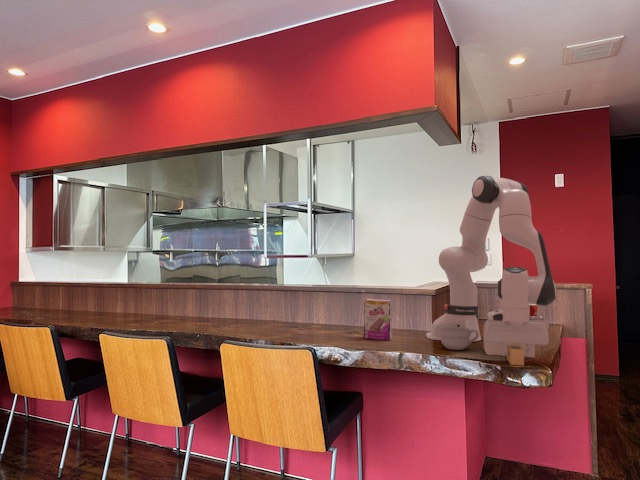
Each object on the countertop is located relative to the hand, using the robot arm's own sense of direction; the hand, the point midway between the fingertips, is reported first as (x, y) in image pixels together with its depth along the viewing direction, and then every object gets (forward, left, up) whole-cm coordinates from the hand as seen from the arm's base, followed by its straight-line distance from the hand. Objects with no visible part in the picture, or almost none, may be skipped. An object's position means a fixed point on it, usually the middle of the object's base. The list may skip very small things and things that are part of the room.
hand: (515, 356), depth 151 cm
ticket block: (0, +14, -2) cm, 14 cm away
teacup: (-17, +16, -2) cm, 24 cm away
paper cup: (+17, +63, -2) cm, 66 cm away
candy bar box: (-49, +26, -2) cm, 56 cm away
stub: (0, 0, -2) cm, 2 cm away
